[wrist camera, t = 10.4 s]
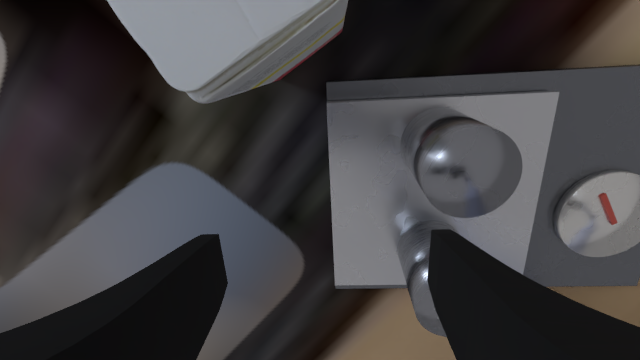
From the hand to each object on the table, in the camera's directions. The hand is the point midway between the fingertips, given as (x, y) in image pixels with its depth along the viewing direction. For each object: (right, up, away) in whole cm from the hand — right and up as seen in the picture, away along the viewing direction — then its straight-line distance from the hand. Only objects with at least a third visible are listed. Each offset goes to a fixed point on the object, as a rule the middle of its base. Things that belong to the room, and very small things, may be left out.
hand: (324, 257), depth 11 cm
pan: (+7, +2, +9) cm, 11 cm away
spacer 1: (+7, -2, +9) cm, 12 cm away
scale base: (+11, +2, +10) cm, 15 cm away
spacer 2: (+6, +5, +7) cm, 11 cm away
